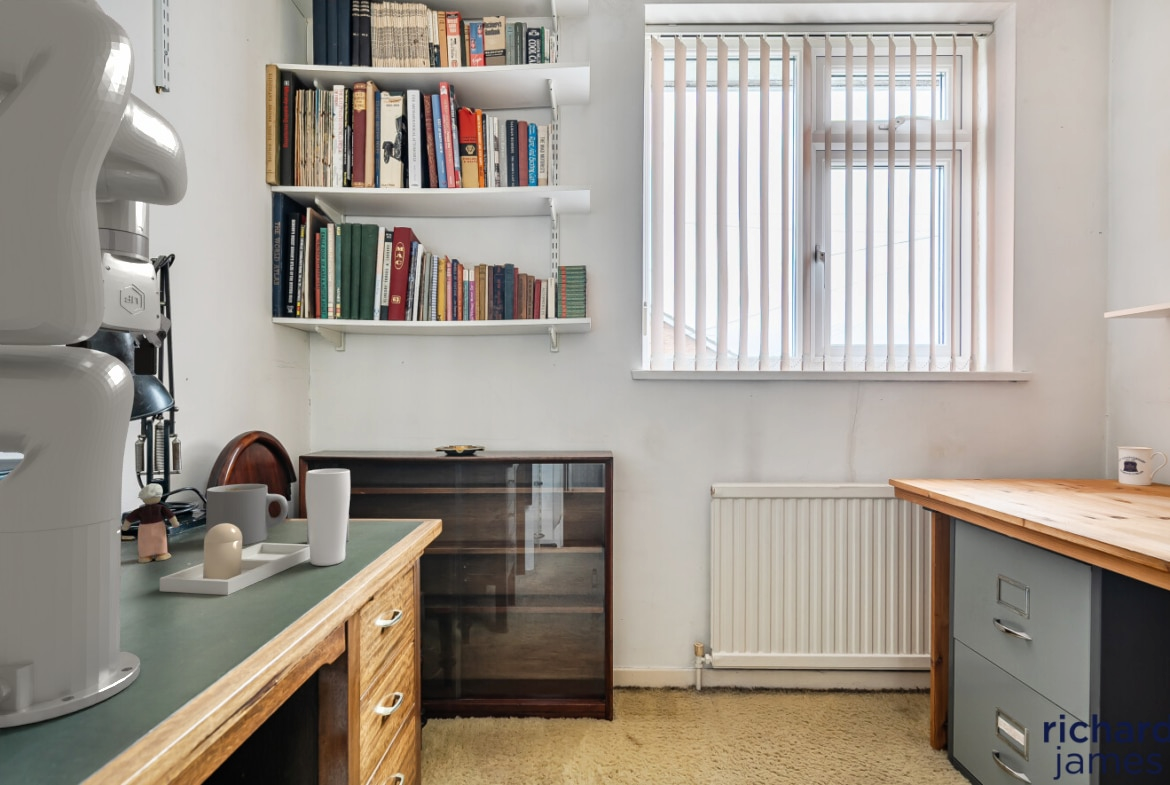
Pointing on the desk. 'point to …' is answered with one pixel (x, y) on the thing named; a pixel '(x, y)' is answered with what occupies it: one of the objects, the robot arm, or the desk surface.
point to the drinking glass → (327, 514)
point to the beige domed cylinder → (222, 552)
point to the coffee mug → (244, 509)
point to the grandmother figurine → (151, 524)
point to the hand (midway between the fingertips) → (113, 373)
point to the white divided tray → (255, 568)
